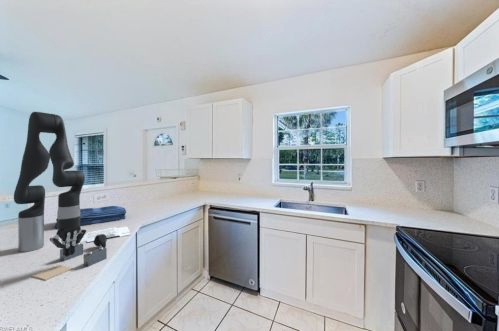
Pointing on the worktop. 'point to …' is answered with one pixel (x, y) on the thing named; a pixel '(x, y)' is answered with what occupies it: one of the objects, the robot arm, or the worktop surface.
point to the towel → (100, 215)
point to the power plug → (100, 240)
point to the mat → (52, 272)
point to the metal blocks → (86, 255)
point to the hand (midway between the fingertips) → (69, 255)
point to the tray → (106, 233)
